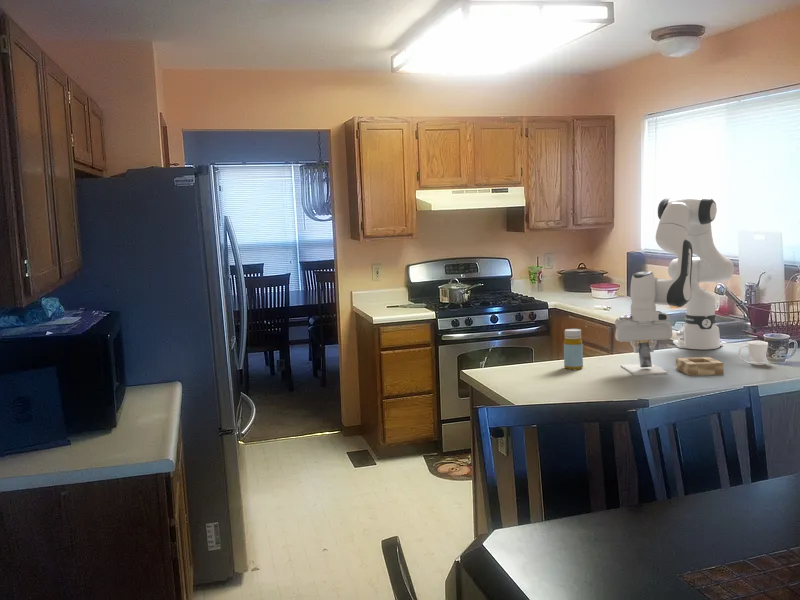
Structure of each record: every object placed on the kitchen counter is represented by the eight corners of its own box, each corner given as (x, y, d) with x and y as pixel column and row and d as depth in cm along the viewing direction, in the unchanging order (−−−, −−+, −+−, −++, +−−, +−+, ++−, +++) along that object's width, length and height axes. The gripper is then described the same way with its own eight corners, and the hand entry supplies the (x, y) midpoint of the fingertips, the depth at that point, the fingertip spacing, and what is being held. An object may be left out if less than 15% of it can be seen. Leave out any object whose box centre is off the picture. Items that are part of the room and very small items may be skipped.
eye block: (676, 368, 251) (676, 358, 250) (708, 367, 251) (708, 356, 250) (689, 375, 239) (689, 364, 238) (723, 374, 239) (723, 363, 238)
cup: (770, 365, 248) (770, 344, 248) (740, 365, 251) (740, 344, 250) (765, 361, 255) (766, 340, 254) (736, 361, 258) (736, 340, 257)
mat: (621, 366, 259) (621, 365, 259) (652, 365, 259) (652, 363, 259) (634, 375, 243) (634, 373, 243) (668, 374, 243) (668, 372, 243)
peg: (641, 366, 252) (638, 340, 253) (652, 366, 250) (649, 339, 251) (639, 367, 249) (636, 340, 249) (651, 366, 247) (647, 339, 247)
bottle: (581, 366, 264) (580, 328, 262) (584, 369, 257) (583, 331, 255) (563, 366, 264) (562, 328, 263) (565, 370, 258) (564, 331, 256)
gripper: (617, 318, 246) (618, 355, 248) (673, 315, 246) (674, 352, 247) (612, 315, 252) (613, 352, 254) (667, 313, 252) (667, 349, 253)
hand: (643, 352), depth 250 cm, fingers closed on peg, 4 cm apart
